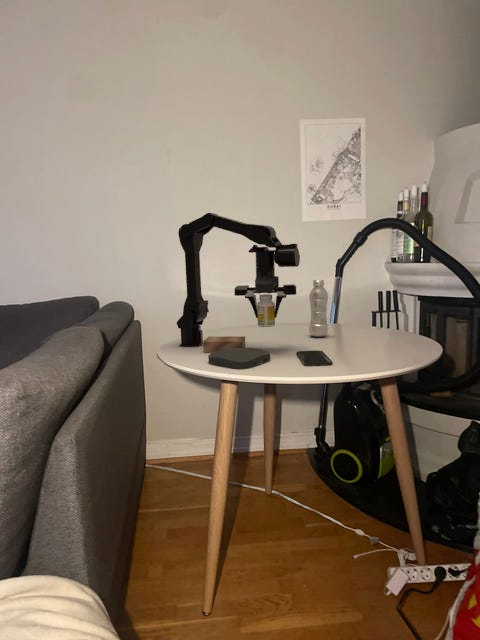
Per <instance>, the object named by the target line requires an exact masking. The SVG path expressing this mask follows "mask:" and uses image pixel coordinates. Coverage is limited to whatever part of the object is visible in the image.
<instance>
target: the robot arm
mask: <svg viewBox="0 0 480 640" xmlns="http://www.w3.org/2000/svg"><path fill="white" fill-rule="evenodd" d="M214 228H216V229H221V230H222V231H223V230H224V231H227V232H230V233H233V234H237V235H241V236H243V237H245V238H247V240H249V241H251V242H254V243H255V244H253V245H252V247H251V248H250V249H249V250H248V253H249V254H250V253H252V254H253V253H255V281H254V287H250V285H248V284H247V285H246V284H245V285H243V284H242V285H236V286H235V288H234V296H236V297H237V296H238V297H240V296H242V297H244V299H248V301H249V302H250V303H249V304H250V305H251V307H252V309H253V312H254V313H253V314H254V315H255V319H258V314H257V304H258V302H257V295H256V294H259V295H261V294H277V295H276V298H275V319H277V316H278V313H279V310H280V309H279V308H280V305H281V303H282V301H283V299H285V298H287V297H288V296H293V295H294V296H296V295H297V286H296V284H293V283H292V284H291V283H290V284H283V285H282V286H280V283H279V281H280V279H279V278H280V277H279V276H278V275H277V276H276V274H275V272H276V271H275V270H276V269H275V265H277V266H278V267H279V268H295V267H297V268H298V267H299V265H300V262H301V261H300V260H301V254H300V250H299V247H298V243H290V244H283V243H282V242H281V240H279V238H278V237H277V232H276V230H275V228H274V227H272V226H270V225H264V224H253V223H246V222H242V221H239V220H235V219H232V218H229V217H227V216H226V217H225V216H222V215H219V214H217V213H213V212H207V213H205V214H203V215H202V216H200V217H198V218H196V219H194V220H192V221H190V222H189V223H183V224H182V225H181V226H180V228H178V233H177V234H178V238H179V239H178V240H179V243H180V245H181V248H182V250H183V252H184V260H185V261H184V263H185V264H184V265H185V281H186V282H185V283H186V299H185V301H184V304H183V309H182V315H181V317H180V318H179V319H178V320H177V321H176V325H177V328H178V329H180V342H181V343H180V344H179V346H180V347H199V346H200V345H202V344H203V341H204V339H203V338H204V337H203V330H202V327H201V326H202V325H203V323H204V320H205V319H206V318H207V316H208V313H210V311H209V308H208V307H209V300H207V299H206V300H205V299H204V297H203V294H202V281H201V279H202V277H201V260H200V258H201V257H200V256H201V255H200V254H201V253H200V252H201V248H202V246H203V244H204V243H203V242H204V236H206V234H209V232H210V231H212V230H213V229H214ZM258 245H260V246H258ZM263 245H264V246H263ZM270 248H273V249H272V250H271V249H270ZM274 248H275V249H274Z"/></svg>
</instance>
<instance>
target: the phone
mask: <svg viewBox="0 0 480 640" xmlns="http://www.w3.org/2000/svg"><path fill="white" fill-rule="evenodd" d="M296 356H297V358H298V360H299V362H300V363H301V364H302V366H303V367H328V366H329V367H330V366H333V360H332V359H330V357H329V356H328V355H327V354H326V353H325V352H324V351H323V350H298V351H296Z"/></svg>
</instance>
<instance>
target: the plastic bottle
mask: <svg viewBox="0 0 480 640" xmlns="http://www.w3.org/2000/svg"><path fill="white" fill-rule="evenodd" d="M312 286H313V288H312V289H311V290H310V293H309V295H308V297H309V304H310V306H309V307H310V319H309V320H310V321H309V327H308V331H309V332H308V333H309V335H310V336H311V337H316V338H321V337H325V336H327V335H328V333H329V326H328V321H327V320H328V319H327V318H328V317H327V310H328V300H329V293H328V291H327V290H326V288H325V287H324V286H325V281H324V279H314V280H313V281H312Z"/></svg>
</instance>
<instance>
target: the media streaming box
mask: <svg viewBox="0 0 480 640" xmlns="http://www.w3.org/2000/svg"><path fill="white" fill-rule="evenodd" d="M270 361H271V352H269V351H267V350H265V349H261V348H255V347H246V348H229V349H222V350H219V351H216V352H213V353H209V355H208V364H209V365H213V366H216V365H217V366H216V367H222V368H227V369H233V370H247V369H251V368H254V367H257V366H260V365H263V364H265V363H269V362H270Z"/></svg>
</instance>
